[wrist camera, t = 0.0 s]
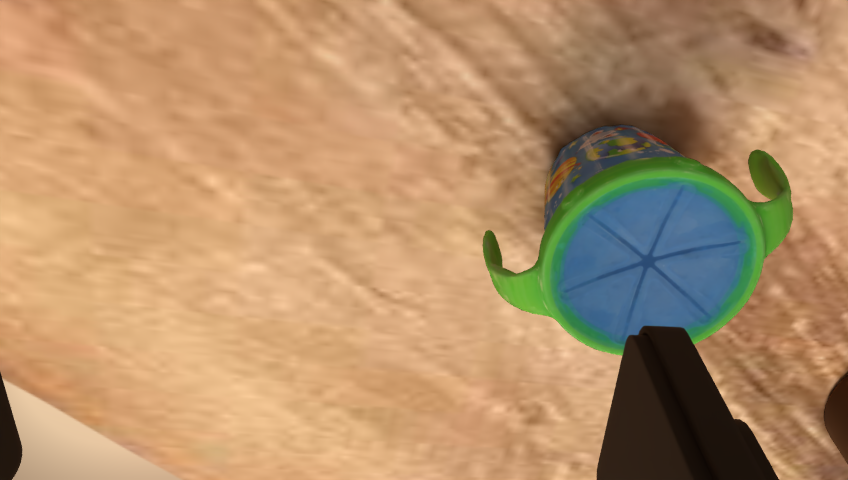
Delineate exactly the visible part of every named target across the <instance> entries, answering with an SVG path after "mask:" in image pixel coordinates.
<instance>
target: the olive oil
mask: <svg viewBox="0 0 848 480" xmlns="http://www.w3.org/2000/svg"><path fill="white" fill-rule="evenodd" d="M824 421H825V426H826V429H827V431H828V433H829V435H830V437H831V438H832V440H833V442H834V443H835V445H836V446H837V448H838V450H839V451H840V453H841V454H842V456H843V457H844V459H845V461H846V462H847V464H848V375H847V376H846V377H845V378H844V379H843V380H842V381H841V382H840V383H839V384H838V385H837V386H836V388H835V389H834V390H833V392H832V393H831V395H830V397H829V399H828V401H827V404H826V407H825V412H824Z"/></svg>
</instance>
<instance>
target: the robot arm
mask: <svg viewBox="0 0 848 480" xmlns="http://www.w3.org/2000/svg"><path fill="white" fill-rule="evenodd" d="M21 458H22V445H21V441H20V438H19V434H18V431H17V428H16V424H15V421H14V418H13V414H12V410H11V407H10V404H9V400H8V397H7V394H6V390H5V387H4V383H3V380H2V376H1V373H0V480H12V479H13V477H14V476H15V474H16V472H17V470H18V468H19V466H20V463H21ZM597 480H779V479H778V477H777V475H776V474H775V472H774V470H773V468H772V466H771V465H770V463H769V461H768V459H767V457H766V456H765V454H764V452H763V450H762V448H761V446H760V445H759V443H758V441H757V439H756V437H755V436H754V434H753V432H752V431H751V429H750V428H749V427H748V425H747V424H746V423H745V422H743V421H741V420H740V419H733V417H732V415H731V413H730V411H729V409H728V407H727V406H726V404H725V402H724V400H723V398H722V396H721V394H720V392H719V391H718V389H717V387H716V385H715V383H714V381H713V379H712V377H711V376H710V374H709V372H708V370H707V368H706V366H705V364H704V362H703V361H702V359H701V357H700V355H699V353H698V351H697V349H696V348H695V346H694V344H693V342H692V340H691V338H690V336H689V334H688V333H687V331H686V330H685V329H684V328H682V327H669V326H643V327H642V328H641V329H640V331H639V334H638V335H629V336H628V338H627V340H626V343H625V347H624V351H623V356H622V360H621V365H620V369H619V373H618V378H617V382H616V387H615V391H614V396H613V400H612V404H611V409H610V413H609V418H608V422H607V427H606V431H605V436H604V440H603V444H602V449H601V453H600V458H599V462H598V467H597Z"/></svg>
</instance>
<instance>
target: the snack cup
mask: <svg viewBox="0 0 848 480" xmlns="http://www.w3.org/2000/svg"><path fill="white" fill-rule="evenodd" d="M748 164H749V169H750V173H751V177H752V180H753V182H754V184H755V187H756V188H757V190H758V191H759V192H760V193H761V194H762V195H764V196H765V197H767V198H769V199H771V201H768V202H752V201H750V200H748V199H747V198H746V197H745V196H744V195H743V193H742V192H741V191H740V190H739V189H738V188H737V187H736V186H734V185H733V184H732V183H731V182H730V181H729V180H727V179H726V178H725V177H724V176H722V175H721V174H719V173H717V172H716V171H714V170H713V169H711V168H709V167H707V166H704V165H702V164H700V162H698V161H696V160H693V159H689V158H687V157H685V156H683V155H681V154H680V153H679V152H677V151H676V150H674V149H673V148H672V147H671V146H669V145H667V144H666V143H665V142H663V141H661V140H660V139H658V138H657V137H655V136H653V135H652V134H650V133H648V132H646V131H643V130H641V129H638V128H636V127H634V126H627V125H619V126H612V127H608V126H604V127H599V128H597V129H594V130H592V131H590V132H588V133H586V134H584V135H582V136H581V137H579V138H578V139H576V140H574V141H572V142H570V143H569V144H568V145H566V146H565V147H563V148H562V149H561V150H560V152H559V155H558V157H557V158H556V160H555V162H554V163H553V164H552V167H551V169H550V171H549V173H548V177H547V180H546V184H545V215H544V217H545V224H544V230H545V232H544V235H543V237H542V241H541V244H540V250H539V257H538V260H537V262H536V263H535V265H534V266H533V267H532V268H530V269H528V270H526V271H523V272H521V273H518V274H516V273H514V272H512V271H510V270H507V269H505V268H502V256H501V252H500V249H499V246H498V242H497V240H496V237H495V235H494V233H493V232H492V231H490V230H488V231H486V232H485V236H484V238H483V253H484V258H485V262H486V266H487V268H488V271H489V273H490V276H491V278H492V282H493V284H494V286H495V288H496V290H497V291H498V293H499V294H500V295H501V296H502V298H504V299H505V300H506V301H507V302H508V303H510V304H511V305H513V306H514V307H517V308H519V309H521V310H523V311H527V312H530V313H532V314H539V315H545V316H549V317H552V318H554V319H555V320H556V321H557V322H558V323H559V324H560V325H561V326H562V327H563V328H564V329H565V330H566V331H567V332H568V333H569V334H570V335H572V336H573V337H574V338H576V339H577V340H578V341H580V342H582V343H584V344H585V345H587V346H590V347H592V348H594V349H596V350H600V351H603V352H607V353H611V354H616V355H623V351H624V347H625V343H626V340H627V338H628V336H629V335H638V334H639V331H640V329H641V328H642V327H643V326H669V327H682V328H684V329H685V330H686V331H687V333H688V334H689V336H690V338H691V340H692V342H693V344H696V343H698V342H699V341H702V340H704V339H705V338H707V337H709V336H710V335H712V334H713V333H715V332H716V331H718V330H719V329H720V328H722V327H723V326H724V325H725V324H726V323H728V322H729V321H730V320H731V319H732V318H733V317H734V316H735V315H736V314H737V313H738V312H739V311H740V310H741V309H742V307H743V306H744V304H745V303H746V302H747V301H748V300H749V298H750V296H751V295H752V293H753V291H754V289H755V287H756V285H757V282H758V280H759V277H760V274H761V271H762V267H763V262H764V259H765V258H766V257H767V256H768V254H770V253H771V252H772V251H773V250H774V249H775V248H777V247H778V246H779V244H780V243H781V242H782V241H783V240H784V238H785V237H786V235H787V233H788V232H789V230H790V227H791V223H792V220H793V207H792V202H791V190H790V186H789V182H788V179H787V177H786V175H785V173H784V171H783V170H782V168H781V167H780V166H779V164H778V163H777V162H776V161H775V160H774V159H773V157H772V156H770V155H769V154H767V153H766V152H765V151H761V150H754V151H752V152H751V154H750V156H749V160H748Z"/></svg>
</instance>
